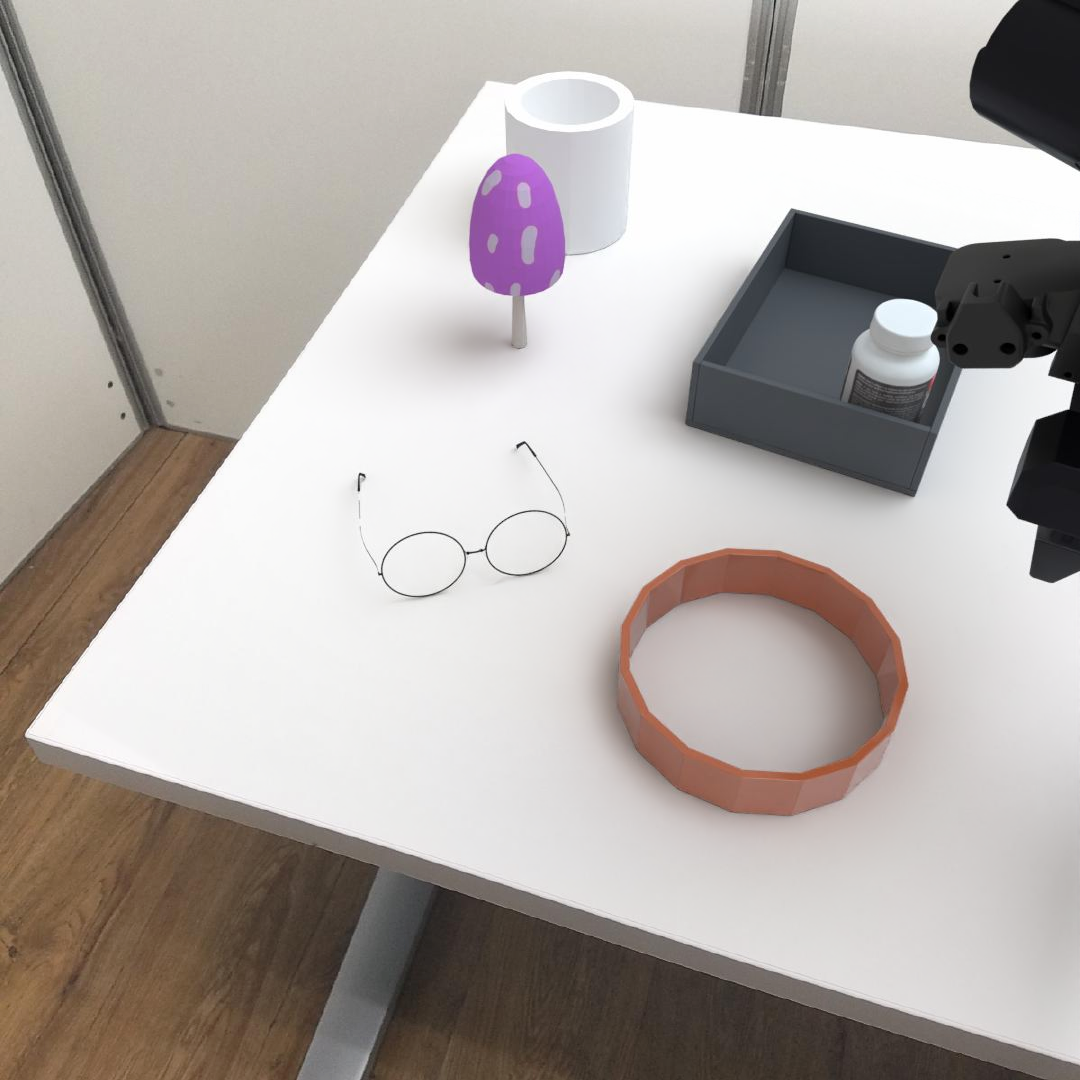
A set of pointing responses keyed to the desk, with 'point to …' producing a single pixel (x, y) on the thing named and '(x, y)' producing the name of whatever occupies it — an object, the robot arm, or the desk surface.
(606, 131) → the mug
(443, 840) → the desk surface
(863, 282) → the bin
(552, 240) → the toy
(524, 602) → the desk surface
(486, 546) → the eyeglasses
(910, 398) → the pill bottle
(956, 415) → the desk surface
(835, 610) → the ring
